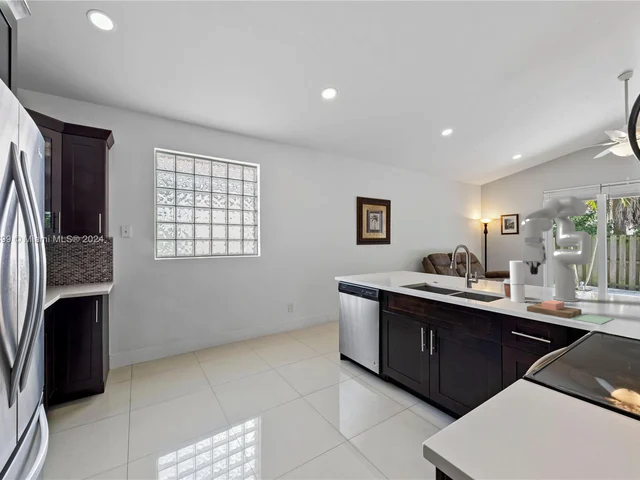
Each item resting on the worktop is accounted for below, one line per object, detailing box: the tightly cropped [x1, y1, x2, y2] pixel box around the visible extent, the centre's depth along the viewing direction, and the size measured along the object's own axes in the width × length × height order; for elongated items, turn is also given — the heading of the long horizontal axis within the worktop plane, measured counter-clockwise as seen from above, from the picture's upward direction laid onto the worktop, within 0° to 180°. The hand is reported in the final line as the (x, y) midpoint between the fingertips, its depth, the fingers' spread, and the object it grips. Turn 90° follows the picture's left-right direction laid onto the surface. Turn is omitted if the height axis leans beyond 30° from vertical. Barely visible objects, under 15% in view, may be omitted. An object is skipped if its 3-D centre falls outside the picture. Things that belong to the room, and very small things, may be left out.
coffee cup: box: [502, 278, 511, 300], centre depth 185 cm, size 9×9×12 cm
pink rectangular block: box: [541, 299, 565, 310], centre depth 147 cm, size 9×6×3 cm, turn 118°
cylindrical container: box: [509, 260, 526, 304], centre depth 175 cm, size 7×7×25 cm
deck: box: [526, 302, 583, 320], centre depth 147 cm, size 14×18×2 cm
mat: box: [569, 313, 615, 325], centre depth 134 cm, size 15×11×1 cm
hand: (534, 274), depth 154 cm, fingers closed
